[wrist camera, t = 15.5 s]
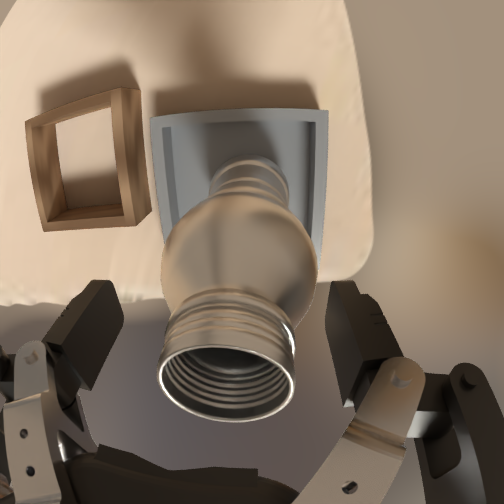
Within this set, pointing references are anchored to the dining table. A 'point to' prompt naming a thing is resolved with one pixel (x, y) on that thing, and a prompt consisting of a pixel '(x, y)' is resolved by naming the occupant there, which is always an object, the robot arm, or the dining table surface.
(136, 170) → the walnut collar
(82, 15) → the dining table surface
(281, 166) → the grey tray
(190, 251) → the plastic bottle
